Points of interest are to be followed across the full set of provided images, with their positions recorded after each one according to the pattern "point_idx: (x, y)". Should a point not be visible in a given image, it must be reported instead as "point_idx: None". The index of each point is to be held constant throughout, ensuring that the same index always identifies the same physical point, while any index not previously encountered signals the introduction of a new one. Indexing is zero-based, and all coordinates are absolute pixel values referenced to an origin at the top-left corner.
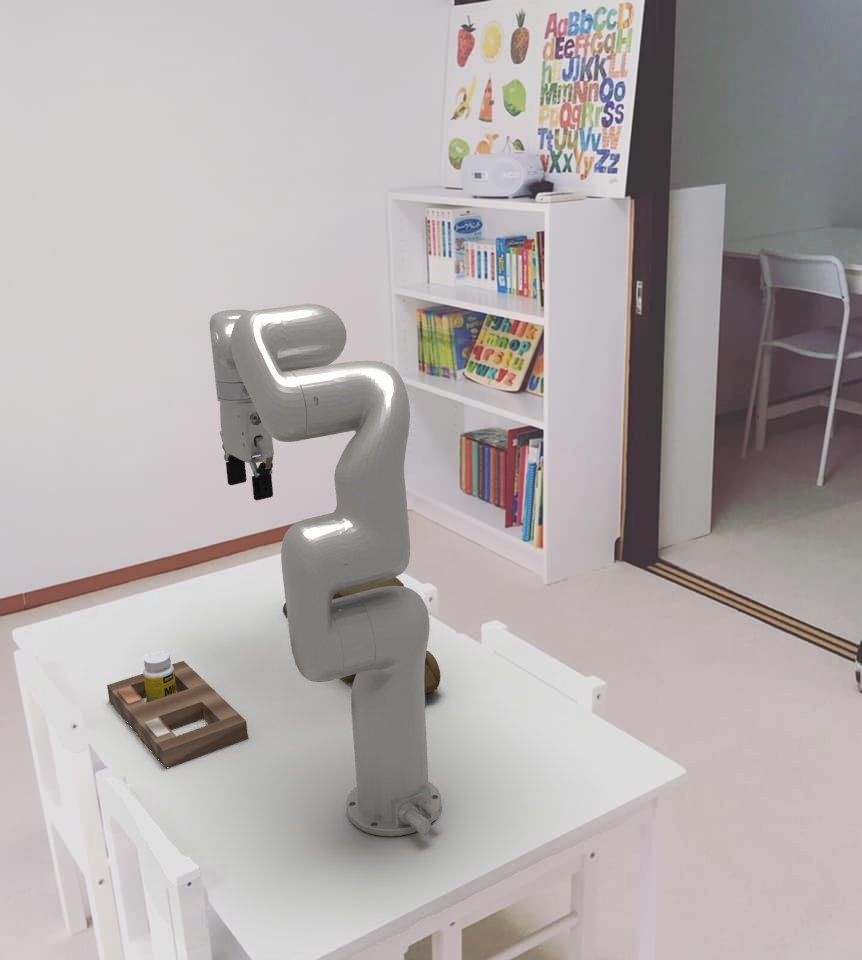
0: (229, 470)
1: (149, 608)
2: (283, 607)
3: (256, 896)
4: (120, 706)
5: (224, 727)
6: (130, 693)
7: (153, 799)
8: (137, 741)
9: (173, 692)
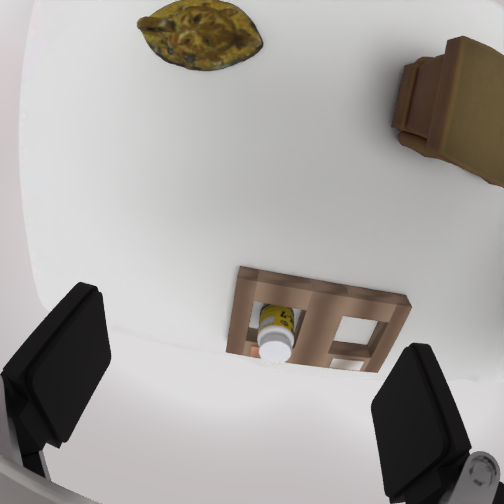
0: (79, 413)
1: (49, 198)
2: (162, 58)
3: (498, 370)
4: None
5: (401, 326)
6: None
7: None
8: None
9: (292, 318)
